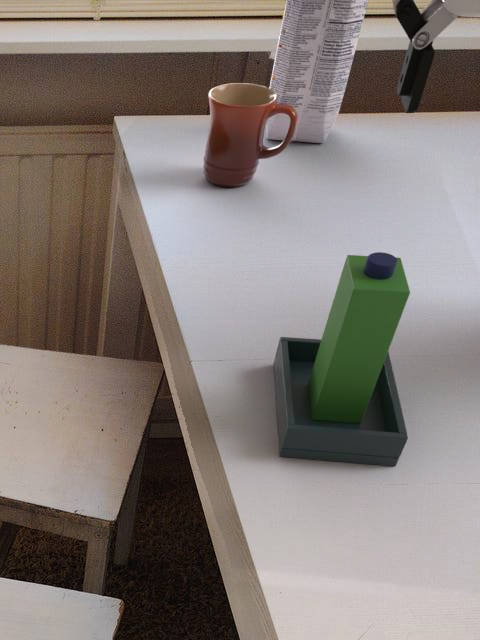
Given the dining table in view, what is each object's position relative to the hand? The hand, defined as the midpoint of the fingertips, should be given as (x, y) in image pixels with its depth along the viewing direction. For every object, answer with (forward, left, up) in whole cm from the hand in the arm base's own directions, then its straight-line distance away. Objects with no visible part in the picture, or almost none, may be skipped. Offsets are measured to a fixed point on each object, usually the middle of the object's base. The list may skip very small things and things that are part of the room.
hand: (476, 106), depth 61 cm
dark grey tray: (+4, -1, -26) cm, 26 cm away
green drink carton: (+4, -1, -25) cm, 25 cm away
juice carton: (-42, -55, -26) cm, 74 cm away
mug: (-24, -47, -26) cm, 59 cm away
